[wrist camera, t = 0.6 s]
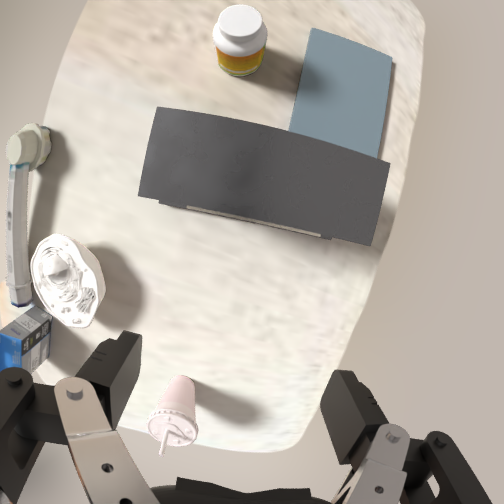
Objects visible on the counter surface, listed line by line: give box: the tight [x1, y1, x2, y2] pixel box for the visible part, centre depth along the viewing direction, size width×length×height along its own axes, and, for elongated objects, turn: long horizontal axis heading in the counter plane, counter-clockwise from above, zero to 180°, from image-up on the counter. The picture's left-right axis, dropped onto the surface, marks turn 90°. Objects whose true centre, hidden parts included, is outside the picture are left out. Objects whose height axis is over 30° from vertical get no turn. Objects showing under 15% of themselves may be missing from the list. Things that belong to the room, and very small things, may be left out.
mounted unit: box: [138, 107, 390, 246], centre depth 26 cm, size 10×20×16 cm, turn 77°
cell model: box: [31, 234, 106, 328], centre depth 32 cm, size 10×12×7 cm
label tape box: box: [0, 306, 52, 374], centre depth 31 cm, size 9×4×12 cm, turn 155°
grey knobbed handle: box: [6, 123, 52, 308], centre depth 31 cm, size 5×7×25 cm
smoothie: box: [146, 375, 198, 457], centre depth 33 cm, size 6×6×14 cm
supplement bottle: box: [213, 4, 267, 76], centre depth 25 cm, size 5×5×10 cm
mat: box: [288, 28, 392, 158], centre depth 31 cm, size 15×11×1 cm
